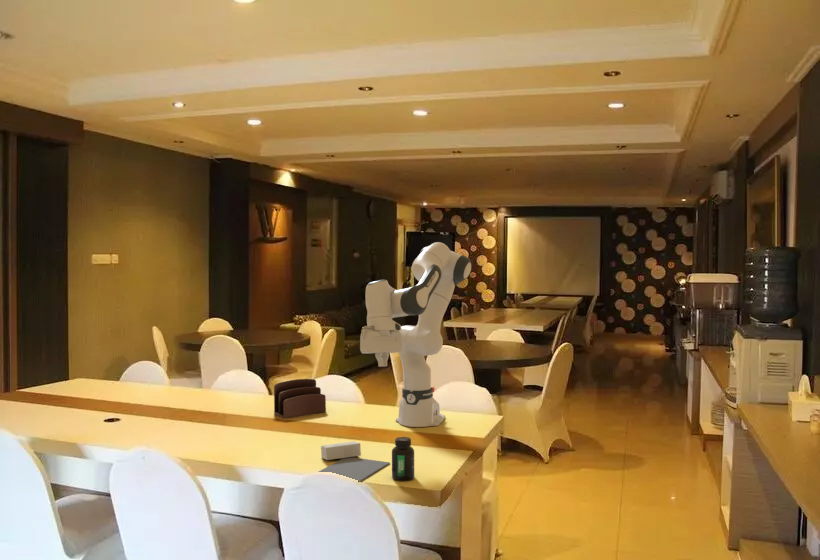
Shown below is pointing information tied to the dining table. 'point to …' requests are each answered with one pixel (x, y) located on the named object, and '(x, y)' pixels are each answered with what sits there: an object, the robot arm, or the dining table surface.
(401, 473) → the supplement bottle
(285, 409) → the letter holder
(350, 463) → the mat
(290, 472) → the dining table surface
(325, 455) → the skincare box
